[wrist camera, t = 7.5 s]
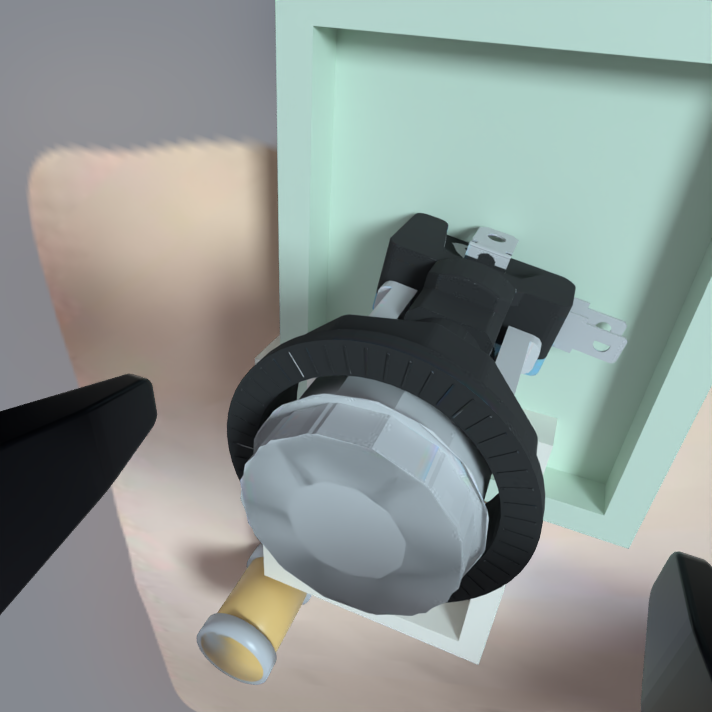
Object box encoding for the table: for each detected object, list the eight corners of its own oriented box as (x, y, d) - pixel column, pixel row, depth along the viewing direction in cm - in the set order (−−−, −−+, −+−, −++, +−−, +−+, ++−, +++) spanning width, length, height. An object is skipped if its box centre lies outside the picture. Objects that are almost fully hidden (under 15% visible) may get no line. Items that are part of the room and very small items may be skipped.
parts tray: (861, 13, 11) (900, 13, 9) (628, 503, 19) (628, 549, 17) (313, -25, 14) (274, -29, 13) (305, 402, 22) (281, 432, 21)
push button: (671, 240, 14) (736, 548, 6) (577, 400, 17) (536, 742, 9) (421, 156, 15) (198, 315, 7) (376, 318, 18) (187, 554, 10)
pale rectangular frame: (559, 407, 18) (553, 446, 16) (486, 628, 25) (476, 670, 23) (282, 331, 21) (254, 358, 19) (285, 547, 28) (264, 580, 26)
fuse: (318, 557, 27) (266, 651, 23) (316, 602, 29) (268, 695, 25) (253, 532, 28) (192, 617, 24) (256, 576, 30) (200, 662, 26)
